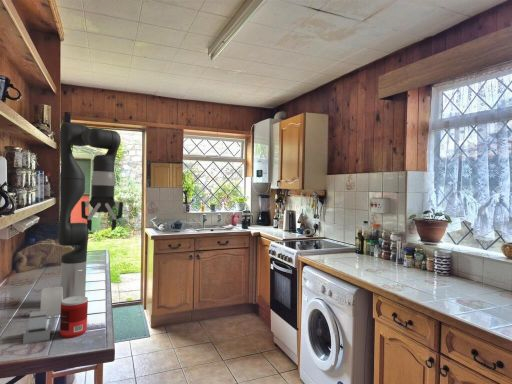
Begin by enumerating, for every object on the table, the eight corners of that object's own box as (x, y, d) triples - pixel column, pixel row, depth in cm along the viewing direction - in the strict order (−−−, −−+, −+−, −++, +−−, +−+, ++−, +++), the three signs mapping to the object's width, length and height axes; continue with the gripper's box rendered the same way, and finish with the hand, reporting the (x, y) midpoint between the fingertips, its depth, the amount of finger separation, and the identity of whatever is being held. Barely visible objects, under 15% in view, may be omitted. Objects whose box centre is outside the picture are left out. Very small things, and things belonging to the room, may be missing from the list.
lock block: (29, 334, 109) (30, 312, 109) (46, 331, 111) (47, 310, 111) (27, 341, 103) (28, 318, 103) (45, 338, 106) (46, 316, 106)
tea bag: (61, 315, 126) (62, 288, 126) (40, 317, 123) (41, 289, 123) (62, 311, 129) (63, 285, 129) (41, 313, 126) (42, 287, 127)
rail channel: (26, 333, 109) (26, 323, 109) (50, 329, 112) (51, 320, 112) (23, 344, 101) (23, 334, 101) (49, 340, 105) (49, 330, 105)
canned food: (90, 328, 115) (92, 296, 115) (79, 338, 107) (80, 303, 107) (67, 328, 114) (69, 295, 114) (54, 338, 106) (56, 303, 106)
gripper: (122, 185, 128) (121, 228, 128) (80, 183, 121) (78, 229, 121) (125, 185, 122) (124, 230, 122) (81, 183, 115) (79, 231, 115)
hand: (101, 230), depth 121 cm, fingers open, 7 cm apart
